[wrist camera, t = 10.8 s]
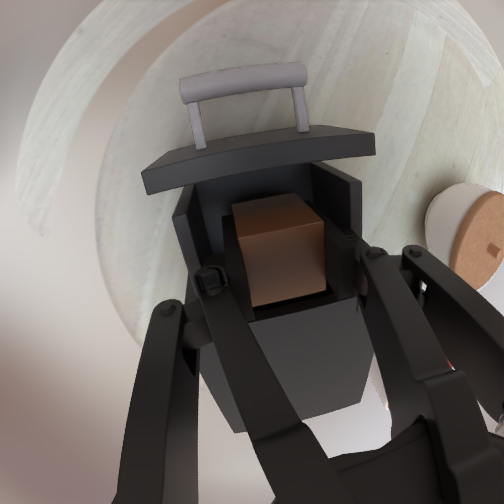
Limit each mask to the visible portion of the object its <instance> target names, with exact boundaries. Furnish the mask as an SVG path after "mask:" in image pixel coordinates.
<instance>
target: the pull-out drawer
mask: <svg viewBox="0 0 504 504" xmlns="http://www.w3.org/2000/svg"><path fill="white" fill-rule="evenodd" d="M306 84H307V71H306V67H305V65H304V64H303V63H302V62H287V63H273V64H262V65H253V66H245V67H238V68H231V69H225V70H219V71H214V72H209V73H204V74H199V75H194V76H190V77H186V78H182V79H179V89H180V94H181V98H182V101H183V103H184V104H187V107H188V112H189V117H190V121H191V126H192V131H193V136H194V141H195V145H192V146H188V147H184V148H180V149H176V150H172V151H168V152H167V153H166V154H164V155H163V156H161V157H160V158H159V159H157V160H156V161H155V162H153V163H152V164H151V165H150V166H148V167H147V168H146V169H144V170H143V171H142V172H141V175H142V179H143V182H144V186H145V189H146V193H147V195H151V194H155V193H159V192H163V191H167V190H170V189H174V188H178V187H183V186H184V188H183V191H182V193H181V196H180V198H179V201H178V203H177V205H176V208H175V210H174V213H173V216H172V221H173V224H174V227H175V231H176V234H177V237H178V241H179V244H180V247H181V250H182V253H183V257H184V260H185V263H186V266H187V269H188V272H189V275H190V278H191V281H192V284H193V287H194V290H195V293H196V295H197V297H198V296H199V295H198V292H197V289H196V286H195V283H194V280H193V275H194V273H195V272H196V271H197V270H198V269H200V268H202V267H203V261H204V260H205V258H206V257H207V256H208V255H213V254H218V253H223V252H224V245H223V233H222V221H221V216H225V215H230V214H233V211H232V206H231V205H232V204H236V203H241V202H246V201H251V200H256V199H261V198H267V197H272V196H277V195H283V194H288V193H296V194H297V195H298V196H299V197H300V198H301V199H302V200H309V201H310V202H311V203H313V204H314V205H315V206H316V207H317V208H318V209H319V210H320V211H321V212H322V213H323V214H324V215H325V216H326V217H327V218H328V219H329V220H330V221H331V222H332V223H333V224H334V225H335V226H336V227H337V228H341V227H347V228H350V229H352V230H353V231H354V232H356V233H357V235H359V236H360V237H361V238H362V182H361V181H360V180H358V179H356V178H354V177H352V176H350V175H348V174H346V173H344V172H342V171H340V170H338V169H336V168H334V167H332V166H329V165H327V164H325V163H323V162H321V161H324V160H333V159H341V158H351V157H361V156H372V155H376V151H375V135H374V133H371V132H365V131H359V130H353V129H347V128H340V127H332V126H324V125H314V126H309V123H308V115H307V109H306V102H305V95H304V89H303V87H304V86H305V85H306ZM291 87H293V88H291ZM280 88H291V91H292V97H293V103H294V109H295V116H296V123H297V127H295V128H286V129H279V130H271V131H265V132H258V133H252V134H246V135H240V136H235V137H229V138H224V139H219V140H214V141H210V142H206V139H205V134H204V129H203V124H202V119H201V114H200V109H199V104H198V101H203V100H207V99H212V98H217V97H223V96H228V95H234V94H240V93H247V92H254V91H262V90H270V89H280ZM354 288H355V287H354ZM330 294H334V291H333V290H332V288H331V286H330V285H329V283H328V282H327V280H326V290H324V291H320V292H316V293H312V294H308V295H304V296H299V297H295V298H291V299H287V300H282V301H278V302H273V303H269V304H264V305H260V306H255V307H253V311H254V312H258V311H262V310H267V309H271V308H276V307H280V306H285V305H289V304H293V303H298V302H302V301H306V300H310V299H314V298H318V297H322V296H326V295H330Z"/></svg>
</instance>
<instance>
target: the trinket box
mask: <svg viewBox="0 0 504 504" xmlns="http://www.w3.org/2000/svg"><path fill="white" fill-rule="evenodd" d="M424 227H425V236H426V243H427V248H428V250H429V252H430V253H431V254H433V255H434V256H435V257H436V258H438V259H439V260H440V261H441V262H443V263H444V264H445V265H446V266H448V267H449V268H450V269H451V270H453V271H454V272H455V273H456V274H457V275H459V276H460V277H461V278H462V279H463V280H465V281H466V282H467V283H468V284H469V285H470V286H471V287H473V288H474V289H475V290H477V289H479V288H480V287H481V286H483V285H484V284H485V283H486V282H487V281H488V280H489V279H490V278H491V277H492V275H493V274H494V273H495V271H496V270H497V269H498V267H499V265H500V264H501V262H502V260H503V258H504V195H503V194H501V193H499V192H497V191H493V190H491V189H488V188H486V187H483V186H480V185H477V184H471V183H460V184H455V185H453V186H451V187H448V188H447V189H446V190H444V191H443V192H441V193H439V194H438V195H436V196H435V197H434V199H433V200H432V201H431V203H430V204H429V206H428V209H427V211H426V215H425V221H424Z"/></svg>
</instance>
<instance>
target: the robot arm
mask: <svg viewBox="0 0 504 504" xmlns="http://www.w3.org/2000/svg"><path fill="white" fill-rule="evenodd" d="M303 201H304V202H305V203H306V204H307V205H308V206H309V207H310V208H311V209H312V210H313V211H314V212H315V213H316V214H317V215H318V216H319V217H320V218H321V219H322V220H323V221H324V240H325V268H326V280H327V282H328V283H329V285H330V286H331V288H332V290H333V291H334V293H335V294H336V296H337V298H338V299H339V300H340V299H343V298H347V297H351V296H353V289H354V287H355V288H356V290H357V291H358V294H357V305H356V312H359V308H360V309H361V312H362V315H363V318H364V321H365V324H366V327H367V330H368V333H369V337H370V340H371V343H372V346H373V350H374V353H375V356H376V360H377V363H378V367H379V370H380V374H381V377H382V381H383V385H384V389H385V393H386V396H387V401H388V405H389V409H390V413H391V417H392V427H391V441H389V442H388V443H387V444H385V445H384V446H383V447H381V448H379V449H376V450H370V451H364V452H357V453H348V454H342V455H339V456H336V457H332V458H328V457H327V455H326V454H325V452H324V450H323V449H322V447H321V445H320V444H319V442H318V440H317V439H316V437H315V436H314V434H313V432H312V431H311V429H310V428H309V427H308V426H307V425H306V424H305V423H303V422H302V421H301V420H300V418H299V416H298V415H297V413H296V411H295V409H294V408H293V406H292V404H291V402H290V400H289V399H288V397H287V395H286V393H285V392H284V390H283V388H282V386H281V384H280V382H279V381H278V379H277V377H276V375H275V373H274V372H273V370H272V368H271V366H270V364H269V362H268V360H267V359H266V357H265V355H264V353H263V351H262V349H261V347H260V345H259V344H258V342H257V340H256V338H255V336H254V334H253V332H252V330H251V328H250V326H249V324H248V322H247V321H252V320H255V316H254V311H253V306H252V302H251V297H250V292H249V287H248V283H247V278H246V273H245V269H244V264H243V259H242V254H241V249H240V246H239V241H238V236H237V231H236V226H235V221H234V216H233V214H230V215H225V216H221V221H222V233H223V245H224V252H223V253H218V254H213V255H208V256H207V257H206V258H205V260H204V261H203V267H202V268H200V269H198V270H197V271H196V272H195V273H194V275H193V280H194V283H195V286H196V289H197V292H198V295H199V296H198V297H197V298H195V299H194V300H192V301H190V302H188V303H186V304H183V305H182V303H181V302H180V301H179V300H176V299H169V300H165V301H163V302H161V303H159V304H158V305H157V306H156V307H155V308H154V310H153V312H152V315H151V319H150V323H149V326H148V330H147V334H146V337H145V341H144V345H143V349H142V353H141V357H140V361H139V365H138V370H137V374H136V379H135V383H134V388H133V392H132V397H131V402H130V407H129V412H128V417H127V422H126V428H125V434H124V440H123V446H122V453H121V460H120V469H119V476H118V485H117V493H116V496H115V497H114V499H113V501H112V503H111V504H198V397H199V370H200V347H203V346H205V345H207V344H210V343H212V342H214V345H215V348H216V351H217V353H218V356H219V359H220V362H221V365H222V368H223V370H224V373H225V376H226V379H227V381H228V384H229V387H230V389H231V392H232V395H233V397H234V400H235V403H236V405H237V408H238V410H239V413H240V415H241V418H242V420H243V423H244V425H245V428H246V430H247V432H248V435H249V437H250V439H251V442H252V445H253V448H254V450H255V453H256V455H257V458H258V460H259V462H260V464H261V467H262V469H263V471H264V473H265V475H266V478H267V480H268V482H269V484H270V486H271V488H272V490H273V492H274V494H275V496H276V497H275V499H274V500H273V502H272V503H271V504H504V317H503V315H502V314H501V313H500V312H499V311H497V310H496V309H495V308H494V307H493V306H492V305H491V304H490V303H489V302H488V301H487V300H486V299H485V298H484V297H483V296H482V295H480V294H479V293H478V292H477V291H476V290H475V289H474V288H473V287H471V286H470V285H469V284H468V283H467V282H466V281H465V280H463V279H462V278H461V277H460V276H459V275H457V274H456V273H455V272H454V271H453V270H451V269H450V268H449V267H448V266H446V265H445V264H444V263H443V262H441V261H440V260H439V259H438V258H436V257H435V256H434V255H433V254H431V253H430V252H429V251H427V250H426V249H425V248H423V247H421V246H418V245H408V246H406V247H404V248H403V250H402V255H388V253H387V252H386V251H385V250H384V249H382V248H379V247H370V246H369V245H368V244H367V243H366V242H365V241H364V240H363V239H362V238H361V237H360V236H359V235H357V233H356V232H354V231H353V230H352V229H350V228H347V227H341V228H337V227H336V226H335V225H334V224H333V223H332V222H331V221H330V220H329V219H328V218H327V217H326V216H325V215H324V214H323V213H322V212H321V211H320V210H319V209H318V208H317V207H316V206H315V205H314V204H313V203H311V202H310V201H309V200H303ZM423 282H424V283H425V284H426V285H427V287H426V290H425V291H424V290H423V289H422V284H423ZM447 360H448V361H449V362H450V364H451V365H452V366H453V367H454V369H455V370H453V369H452V368H451V367H450V365H449V363H448V361H447ZM476 399H477V400H478V402H479V403H480V405H481V406H482V407H483V408H484V410H485V411H486V412H487V413H488V414H489V415H490V416H491V417H492V418H493V419H494V420H495V421H496V422H497V423H499V424H498V426H497V427H496V430H495V433H496V434H494V433H491V432H488V430H487V427H486V424H485V421H484V418H483V416H482V413H481V410H480V407H479V405H478V402H477V400H476Z"/></svg>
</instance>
